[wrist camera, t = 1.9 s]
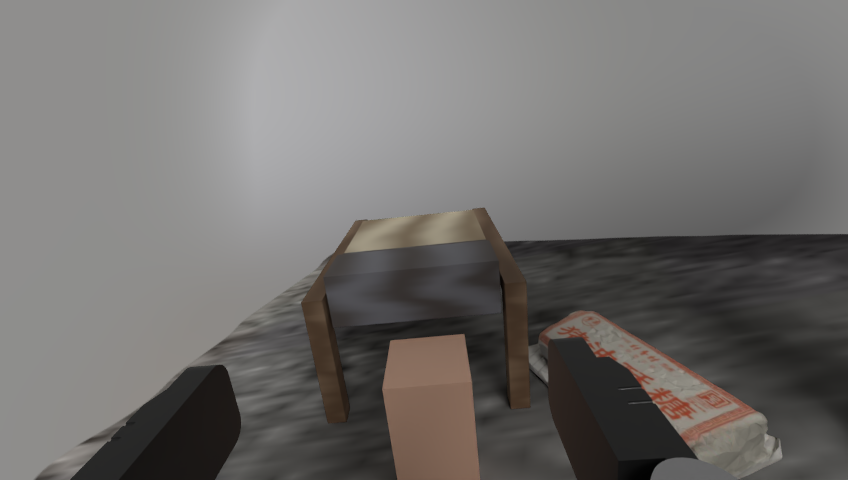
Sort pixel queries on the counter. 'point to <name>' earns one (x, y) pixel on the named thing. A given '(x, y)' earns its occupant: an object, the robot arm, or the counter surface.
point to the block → (431, 409)
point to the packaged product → (674, 395)
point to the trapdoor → (414, 271)
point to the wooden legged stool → (512, 313)
